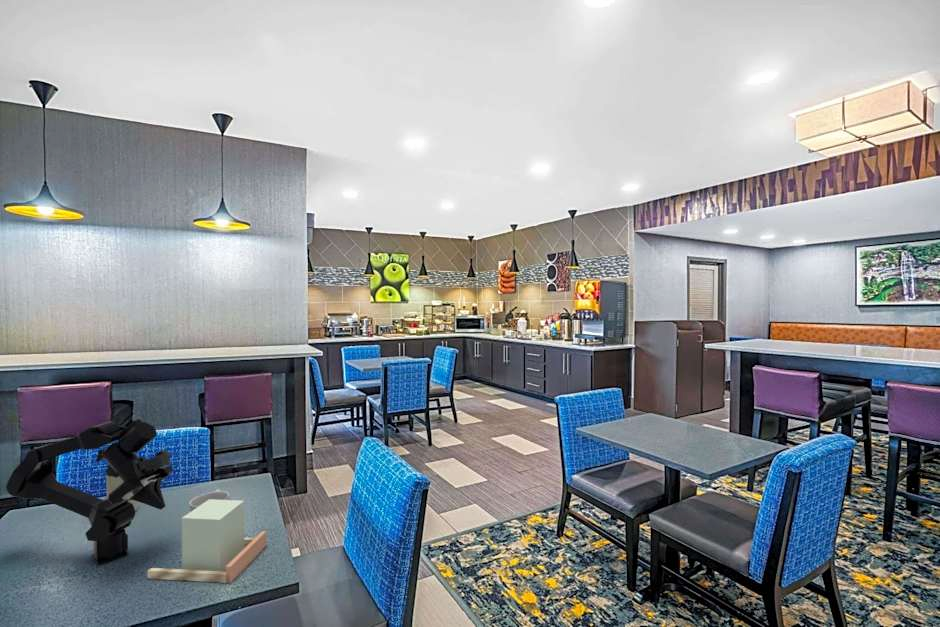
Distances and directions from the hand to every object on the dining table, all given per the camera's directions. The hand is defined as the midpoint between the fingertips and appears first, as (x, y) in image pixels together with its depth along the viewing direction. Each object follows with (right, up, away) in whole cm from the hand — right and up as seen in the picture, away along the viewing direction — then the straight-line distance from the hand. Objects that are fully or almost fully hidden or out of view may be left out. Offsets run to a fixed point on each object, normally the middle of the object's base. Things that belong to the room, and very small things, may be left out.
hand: (163, 508), depth 123 cm
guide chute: (+13, -14, 0) cm, 19 cm away
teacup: (+1, -13, +22) cm, 25 cm away
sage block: (+14, -14, -1) cm, 20 cm away
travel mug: (-31, -13, +27) cm, 43 cm away
